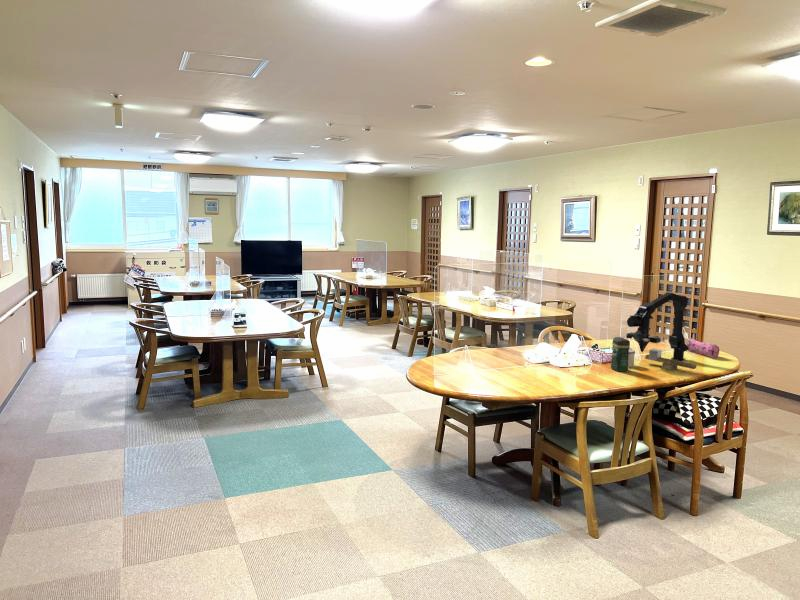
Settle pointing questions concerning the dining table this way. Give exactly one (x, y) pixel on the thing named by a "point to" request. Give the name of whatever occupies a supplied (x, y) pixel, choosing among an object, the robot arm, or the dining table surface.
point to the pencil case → (703, 348)
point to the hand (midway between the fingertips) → (642, 351)
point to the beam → (673, 363)
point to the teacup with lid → (631, 357)
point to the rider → (654, 354)
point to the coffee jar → (620, 354)
